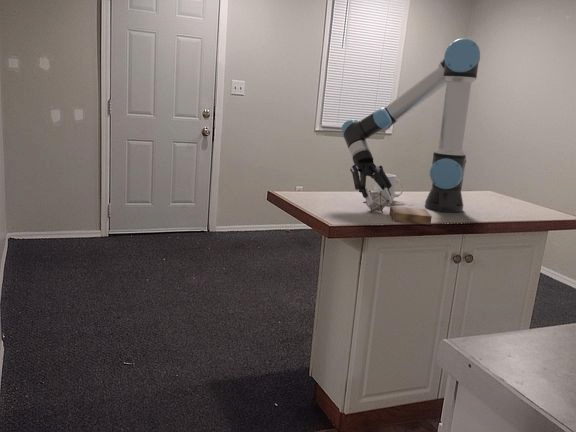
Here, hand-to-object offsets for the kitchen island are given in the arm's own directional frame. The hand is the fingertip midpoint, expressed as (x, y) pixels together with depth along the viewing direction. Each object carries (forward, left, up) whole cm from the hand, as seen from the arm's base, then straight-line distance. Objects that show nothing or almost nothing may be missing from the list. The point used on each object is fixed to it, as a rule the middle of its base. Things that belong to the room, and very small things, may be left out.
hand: (380, 204), depth 196 cm
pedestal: (-10, +4, -4) cm, 12 cm away
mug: (-6, -30, -4) cm, 31 cm away
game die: (+1, -3, -4) cm, 5 cm away
